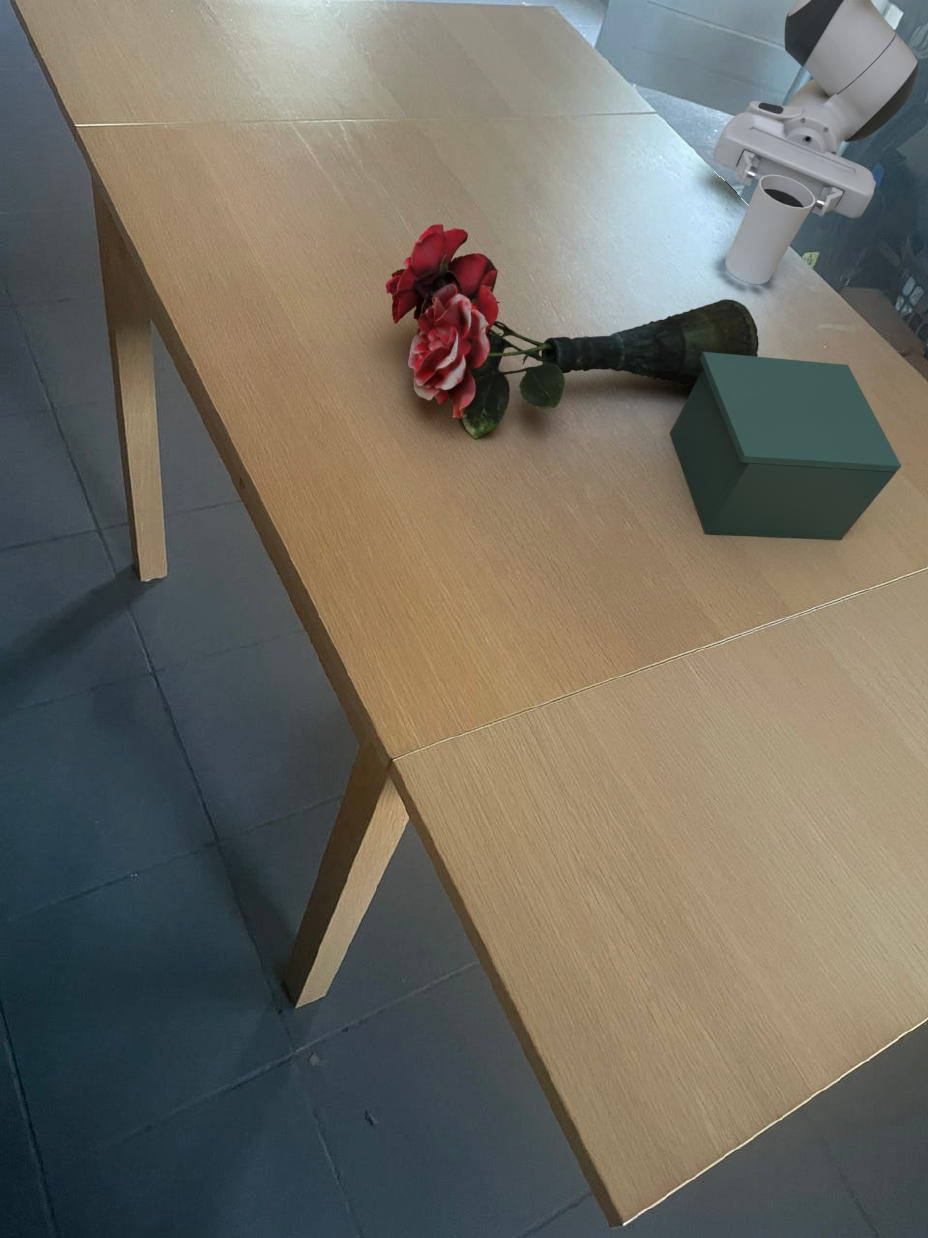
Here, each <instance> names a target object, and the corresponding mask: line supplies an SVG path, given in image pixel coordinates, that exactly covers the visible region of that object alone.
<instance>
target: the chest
mask: <svg viewBox="0 0 928 1238" xmlns="http://www.w3.org/2000/svg"><path fill="white" fill-rule="evenodd" d="M669 434H670V437H671V440H672V444H673V446H674V449H675V452H676V454H677V458H678V460H679V463H680V466H681V469H682V472H683V475H684V478H685V480H686V483H687V486H688V489H689V492H690V495H691V498H692V501H693V503H694V506H695V509H696V512H697V515H698V517H699V518H698V519H699V521H700V524H701V526H702V530H703V533H704V534H705V535H719V536H739V537H740V536H742V537H762V538H763V537H765V538H785V539H786V538H789V539H809V540H810V539H811V540H831V541H833V540H835V541H842V539H843V538H844V537H845V536H846V535H847V533H848V532H849V531H850V530H851V529H852V527H853V526H854V525H855V524H856V522H857V521H858V520H859V519H860V518H861V516H863V514H864V513H865V512H866V511H867V509H868V508H869V506H871V504H872V503H873V502H874V501H875V500H876V499H877V497H878V496H879V494H880V493H881V492H882V491H883V490H884V488H885V487H886V486H887V485H888V483H889V482H890V481H891V480H892V478H893V477H894V476H895V475H896V474H897V472H888V471H871V470H855V469H839V468H822V467H806V466H790V465H773V464H757V463H742V462H741V461H740V459H739V456H738V454H737V451H736V449H735V446H734V444H733V441H732V438H731V436H730V433H729V431H728V428H727V426H726V423H725V421H724V418H723V416H722V413H721V411H720V408H719V406H718V403H717V401H716V398H715V396H714V393H713V391H712V388H711V386H710V383H709V381H708V378H707V376H706V373H705V371H704V368H703V370H702V371H701V373H700V375H699V377H698V379H697V381H696V383H695V385H694V386H692V389H691V390H690V393H689V395H688V397H687V399H686V401H685V402H684V404H683V406H682V408H681V410H680V412H679V414H678V416H677V418H676V420H675V422H674V424H673V425H672V427H671V429H670V431H669Z"/></svg>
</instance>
